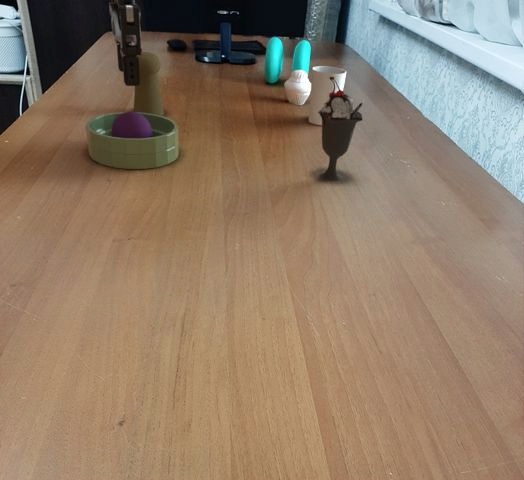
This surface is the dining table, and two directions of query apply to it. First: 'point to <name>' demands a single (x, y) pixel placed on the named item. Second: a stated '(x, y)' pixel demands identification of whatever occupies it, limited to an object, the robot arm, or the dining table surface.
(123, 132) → the ball
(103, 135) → the bowl
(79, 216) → the dining table surface
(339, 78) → the white paper cup
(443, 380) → the dining table surface
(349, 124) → the sundae
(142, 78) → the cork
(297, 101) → the muffin
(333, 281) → the dining table surface
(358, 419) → the dining table surface
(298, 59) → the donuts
